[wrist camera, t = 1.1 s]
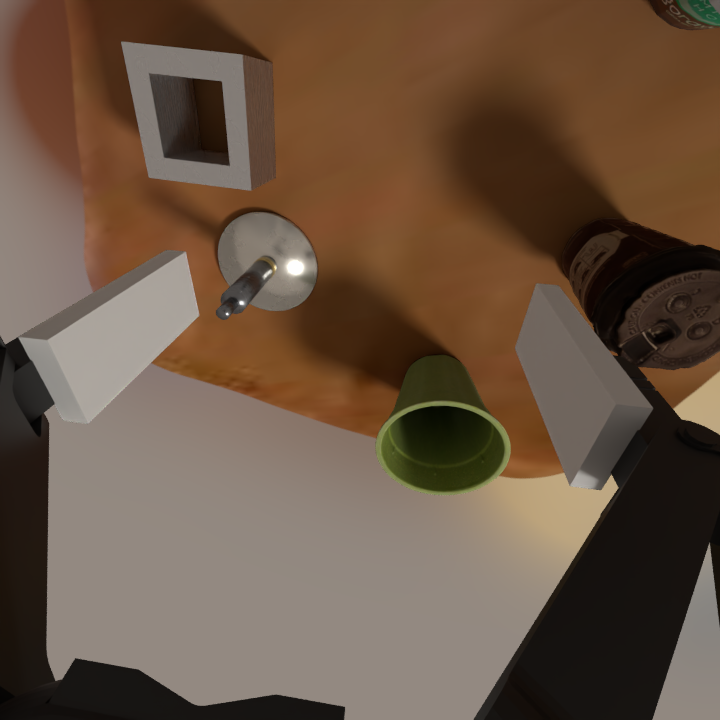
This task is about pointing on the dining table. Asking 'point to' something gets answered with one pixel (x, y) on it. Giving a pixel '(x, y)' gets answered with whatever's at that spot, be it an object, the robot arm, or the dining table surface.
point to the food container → (689, 13)
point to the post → (265, 264)
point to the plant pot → (441, 432)
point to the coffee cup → (646, 292)
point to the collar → (180, 120)
